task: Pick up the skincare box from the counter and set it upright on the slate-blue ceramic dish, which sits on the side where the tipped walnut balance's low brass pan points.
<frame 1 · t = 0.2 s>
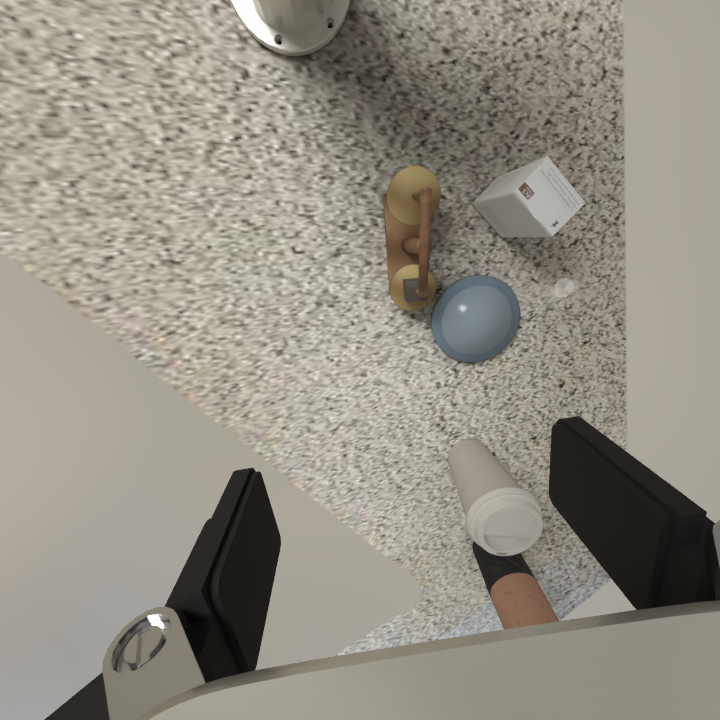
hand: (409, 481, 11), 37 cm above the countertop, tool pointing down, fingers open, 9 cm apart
balance: (405, 244, 43), on the countertop
dish: (473, 319, 47), on the countertop
travel mug: (491, 542, 62), on the countertop
skincare box: (495, 208, 43), on the countertop
coffee cup: (467, 455, 55), on the countertop
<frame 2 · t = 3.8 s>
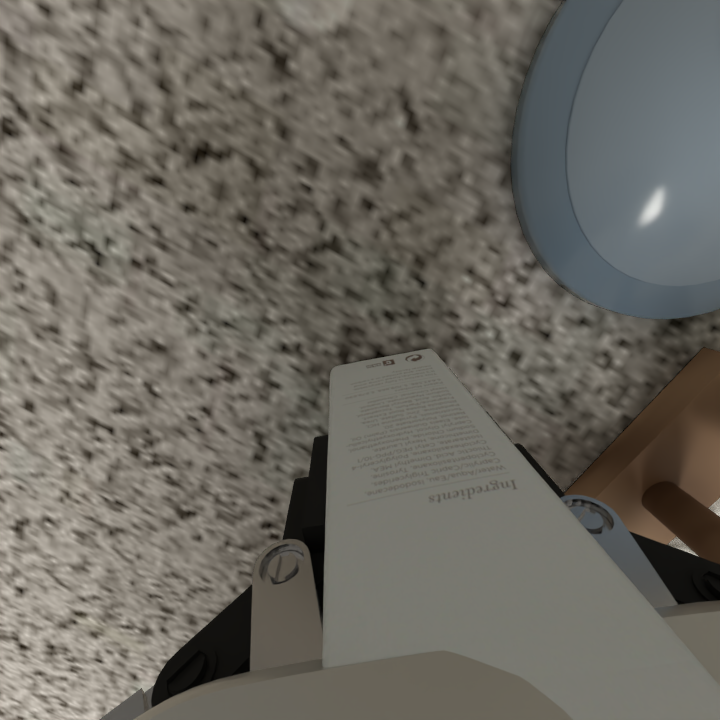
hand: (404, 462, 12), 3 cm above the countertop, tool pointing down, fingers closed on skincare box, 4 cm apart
balance: (637, 478, 16), on the countertop
dish: (690, 134, 11), on the countertop
skincare box: (394, 419, 15), on the countertop, touching gripper
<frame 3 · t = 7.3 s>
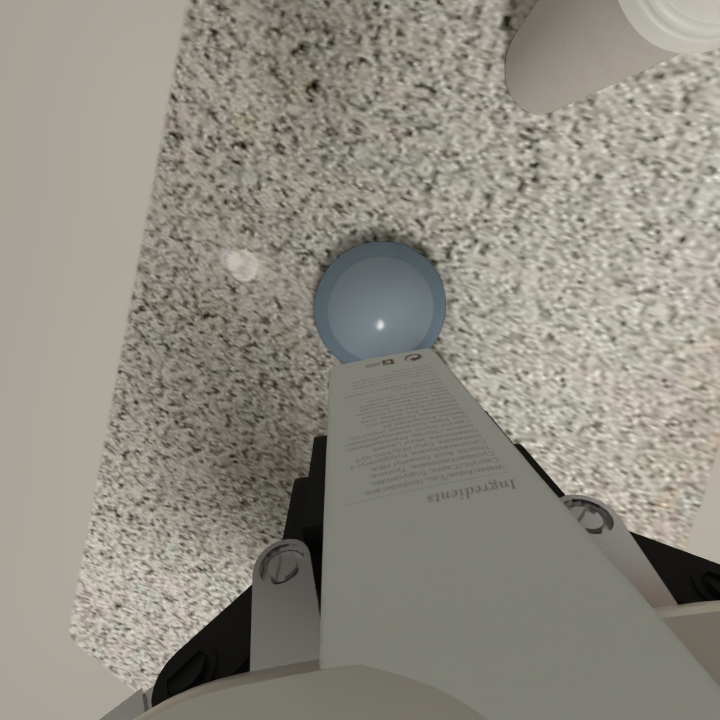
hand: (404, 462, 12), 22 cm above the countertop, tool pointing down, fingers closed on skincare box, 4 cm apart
dish: (379, 309, 32), on the countertop
skincare box: (394, 419, 14), point 19 cm above the countertop, touching gripper
coffee cup: (544, 66, 26), on the countertop
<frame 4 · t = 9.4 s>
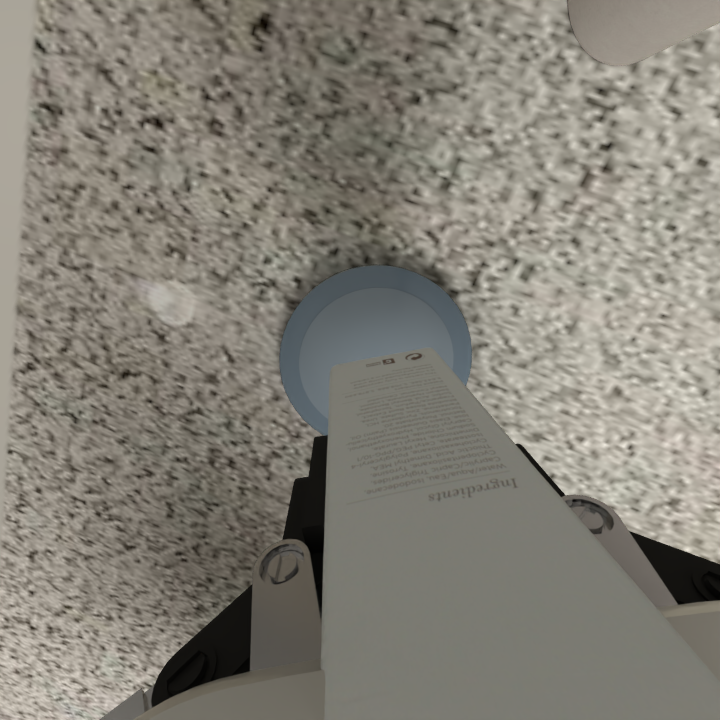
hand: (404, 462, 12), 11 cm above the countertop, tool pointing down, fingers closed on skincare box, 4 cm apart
dish: (375, 360, 22), on the countertop
skincare box: (394, 418, 14), point 8 cm above the countertop, touching gripper
when the fingers open (5 cm above the countertop, at t = 10.9 s): skincare box drops 1 cm, resting on dish.
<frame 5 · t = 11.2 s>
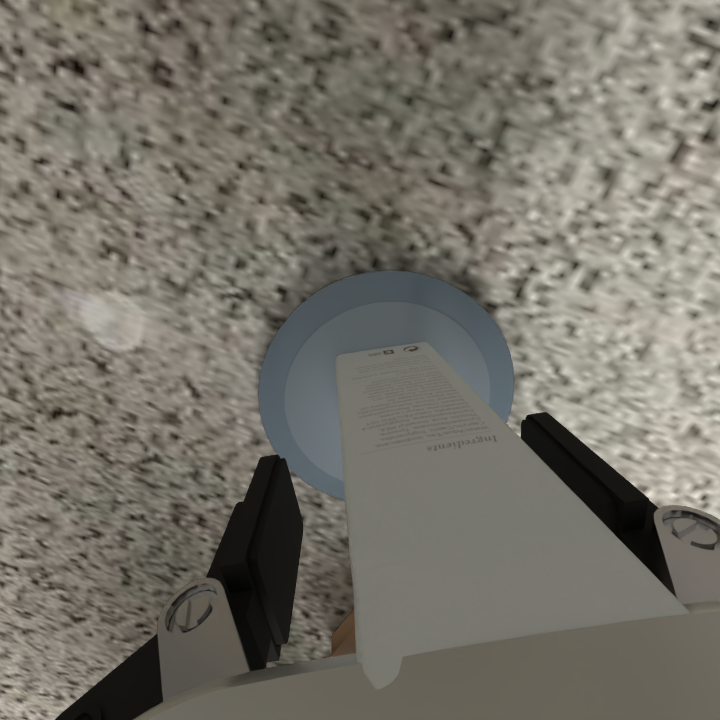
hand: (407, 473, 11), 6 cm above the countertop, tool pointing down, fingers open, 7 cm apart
balance: (413, 590, 22), on the countertop
dish: (385, 393, 17), on the countertop
skincare box: (390, 406, 16), point 1 cm above the countertop, touching dish
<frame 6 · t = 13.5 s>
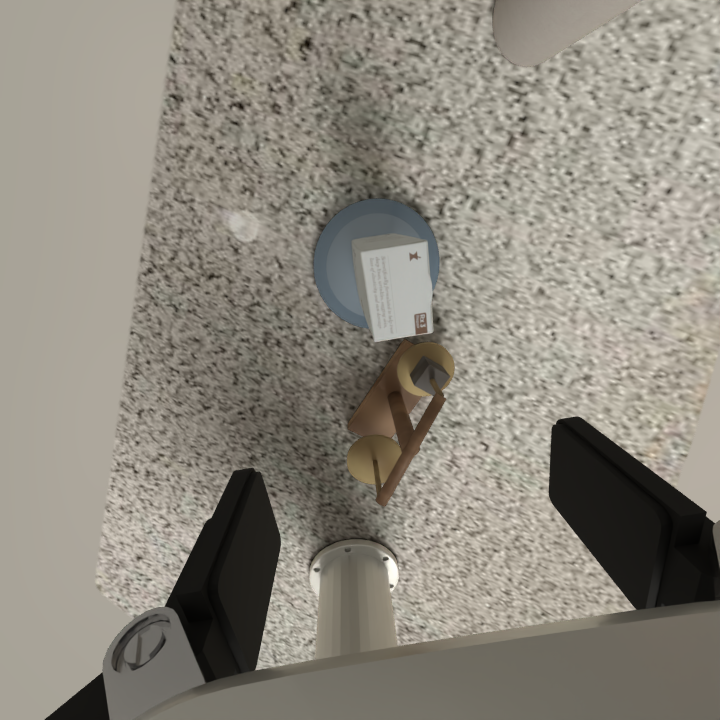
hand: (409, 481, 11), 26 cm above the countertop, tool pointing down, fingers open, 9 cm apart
balance: (393, 392, 38), on the countertop
dish: (375, 266, 33), on the countertop
skincare box: (378, 269, 32), point 1 cm above the countertop, touching dish
coffee cup: (531, 17, 27), on the countertop
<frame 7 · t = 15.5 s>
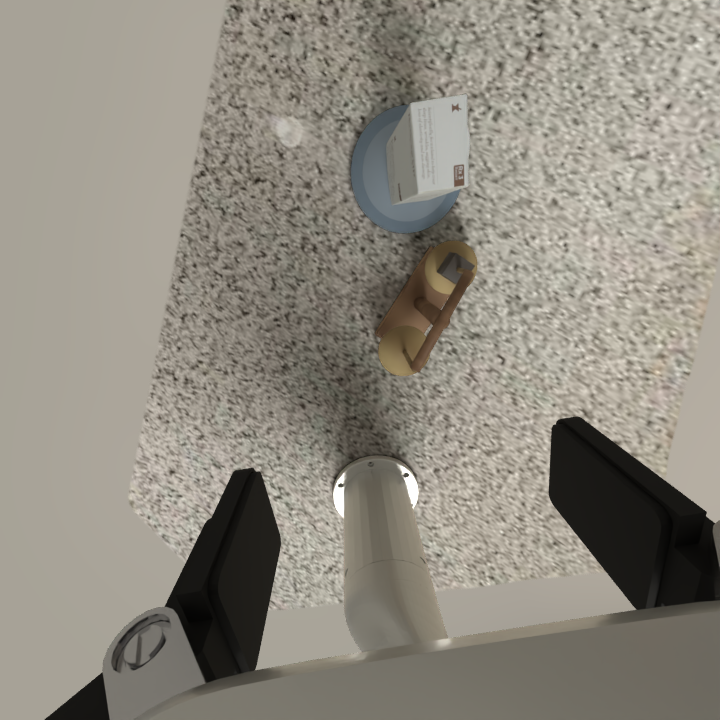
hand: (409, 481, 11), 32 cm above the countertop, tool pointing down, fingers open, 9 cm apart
balance: (418, 301, 41), on the countertop
dish: (406, 174, 37), on the countertop
skincare box: (408, 174, 36), point 1 cm above the countertop, touching dish
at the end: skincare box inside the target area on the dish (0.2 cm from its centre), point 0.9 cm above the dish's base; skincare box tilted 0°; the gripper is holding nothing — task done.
